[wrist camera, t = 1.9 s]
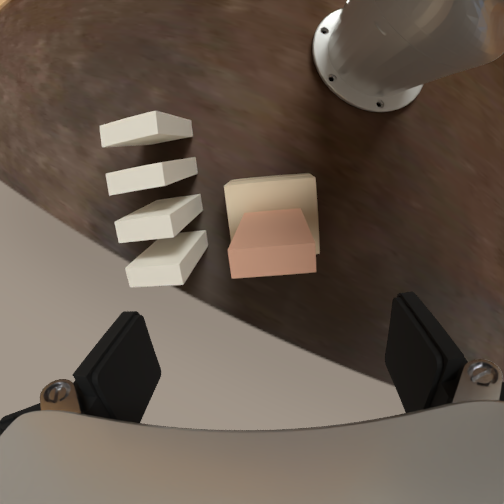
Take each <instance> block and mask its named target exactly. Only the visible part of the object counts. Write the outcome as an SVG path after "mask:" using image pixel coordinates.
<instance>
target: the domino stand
mask: <svg viewBox="0 0 504 504" xmlns="http://www.w3.org/2000/svg"><path fill="white" fill-rule="evenodd" d="M224 191H225V199H226V206H227V214H228V222H229V229H230V237H231V241H232V239H233V237H234V235H235V232H236V230H237V228H238V226H239V223H240V221H241V219H242V217H243V215H244V213H249V212H260V211H272V210H283V209H296V208H301V210H302V212H303V215H304V217H305V219H306V222H307V224H308V227H309V229H310V231H311V234H312V236H313V239H314V241H315V249H316V254H320V247H319V225H318V207H317V191H316V178H315V177H314V176H313V175H311V174H310V173H301V174H288V175H276V176H265V177H254V178H245V179H235V180H231V181H230V182H228V183H227V184H226V185H224Z"/></svg>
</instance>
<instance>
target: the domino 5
mask: <svg viewBox="0 0 504 504" xmlns="http://www.w3.org/2000/svg"><path fill="white" fill-rule="evenodd" d="M228 256H229V263H230V270H231V277H232V279H233V278H248V277H262V276H275V275H288V274H301V273H313V272H316V249H315V241H314V239H313V236H312V234H311V231H310V229H309V227H308V224H307V222H306V219H305V217H304V215H303V212H302V210H301V208H296V209H283V210H272V211H260V212H249V213H244V215H243V217H242V219H241V221H240V223H239V226H238V228H237V230H236V232H235V235H234V237H233V239H232V241H231V243H230V246H229V248H228Z"/></svg>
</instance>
